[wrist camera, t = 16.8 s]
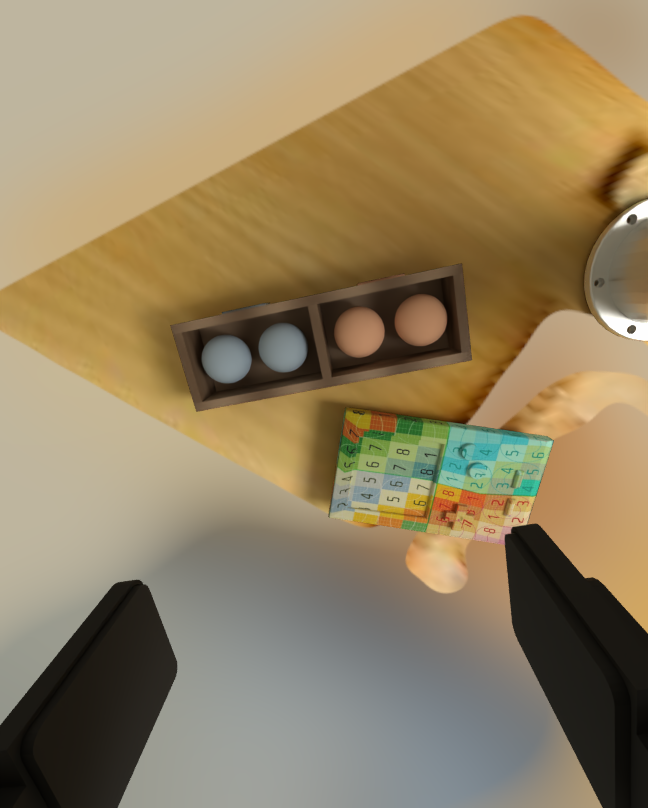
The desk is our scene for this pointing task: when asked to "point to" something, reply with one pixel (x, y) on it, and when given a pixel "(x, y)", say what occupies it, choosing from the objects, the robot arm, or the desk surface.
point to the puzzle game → (436, 475)
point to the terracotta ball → (359, 331)
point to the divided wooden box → (327, 338)
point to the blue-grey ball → (226, 359)
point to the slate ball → (283, 347)
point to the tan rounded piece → (420, 320)
